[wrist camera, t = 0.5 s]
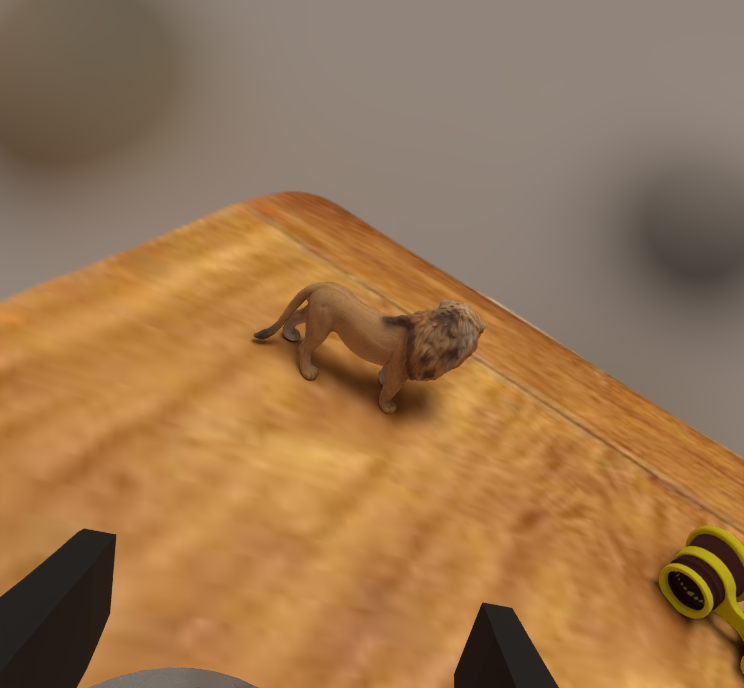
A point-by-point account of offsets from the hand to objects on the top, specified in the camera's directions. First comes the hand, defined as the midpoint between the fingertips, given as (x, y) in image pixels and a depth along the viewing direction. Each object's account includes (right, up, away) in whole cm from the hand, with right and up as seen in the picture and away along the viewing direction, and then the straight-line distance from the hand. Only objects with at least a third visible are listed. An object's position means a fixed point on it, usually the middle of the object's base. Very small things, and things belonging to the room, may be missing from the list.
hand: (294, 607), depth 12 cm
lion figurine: (0, +3, +34) cm, 35 cm away
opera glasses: (+24, -13, +29) cm, 40 cm away
